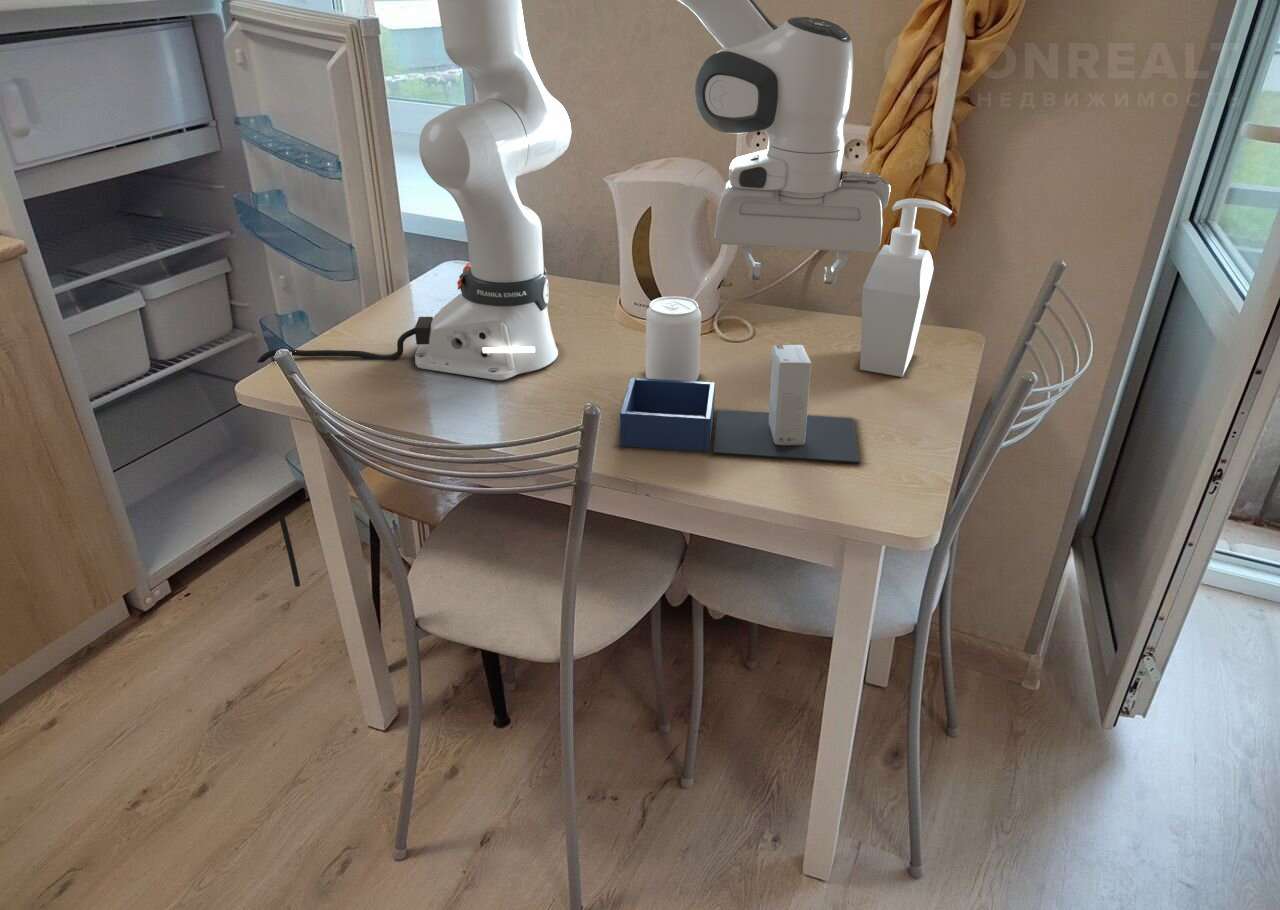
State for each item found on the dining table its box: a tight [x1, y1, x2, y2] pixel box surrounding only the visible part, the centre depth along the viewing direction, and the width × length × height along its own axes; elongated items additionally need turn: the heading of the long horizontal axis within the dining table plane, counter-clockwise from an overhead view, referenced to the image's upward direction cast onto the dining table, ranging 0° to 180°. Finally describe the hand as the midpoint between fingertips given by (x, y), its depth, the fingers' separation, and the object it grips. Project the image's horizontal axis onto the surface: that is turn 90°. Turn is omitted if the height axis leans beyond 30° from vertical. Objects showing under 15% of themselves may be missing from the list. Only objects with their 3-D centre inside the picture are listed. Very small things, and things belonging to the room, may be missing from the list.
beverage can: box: [645, 295, 702, 381], centre depth 140 cm, size 8×8×12 cm
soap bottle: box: [859, 197, 953, 378], centre depth 142 cm, size 12×10×26 cm
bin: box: [619, 377, 716, 453], centre depth 128 cm, size 12×11×5 cm
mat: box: [712, 409, 860, 465], centre depth 128 cm, size 19×12×1 cm, turn 83°
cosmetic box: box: [768, 344, 812, 445], centre depth 125 cm, size 6×4×12 cm
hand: (791, 280), depth 118 cm, fingers open, 8 cm apart
